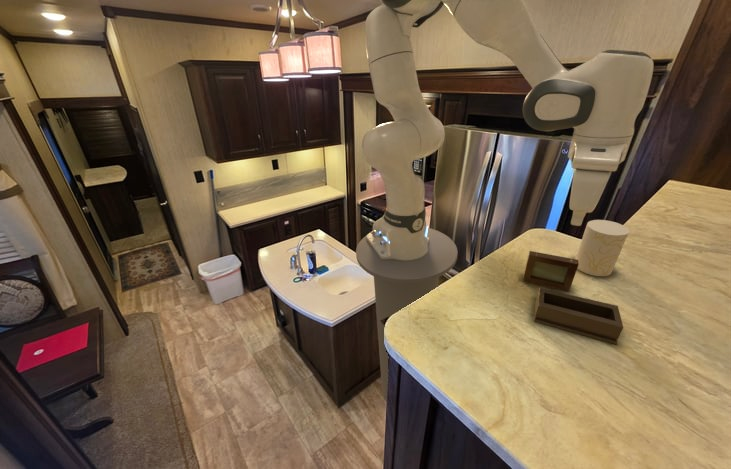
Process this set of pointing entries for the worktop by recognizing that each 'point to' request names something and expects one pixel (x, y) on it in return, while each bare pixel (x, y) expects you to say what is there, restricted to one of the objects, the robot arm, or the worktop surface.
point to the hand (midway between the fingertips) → (577, 215)
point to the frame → (550, 270)
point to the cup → (601, 247)
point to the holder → (578, 315)
